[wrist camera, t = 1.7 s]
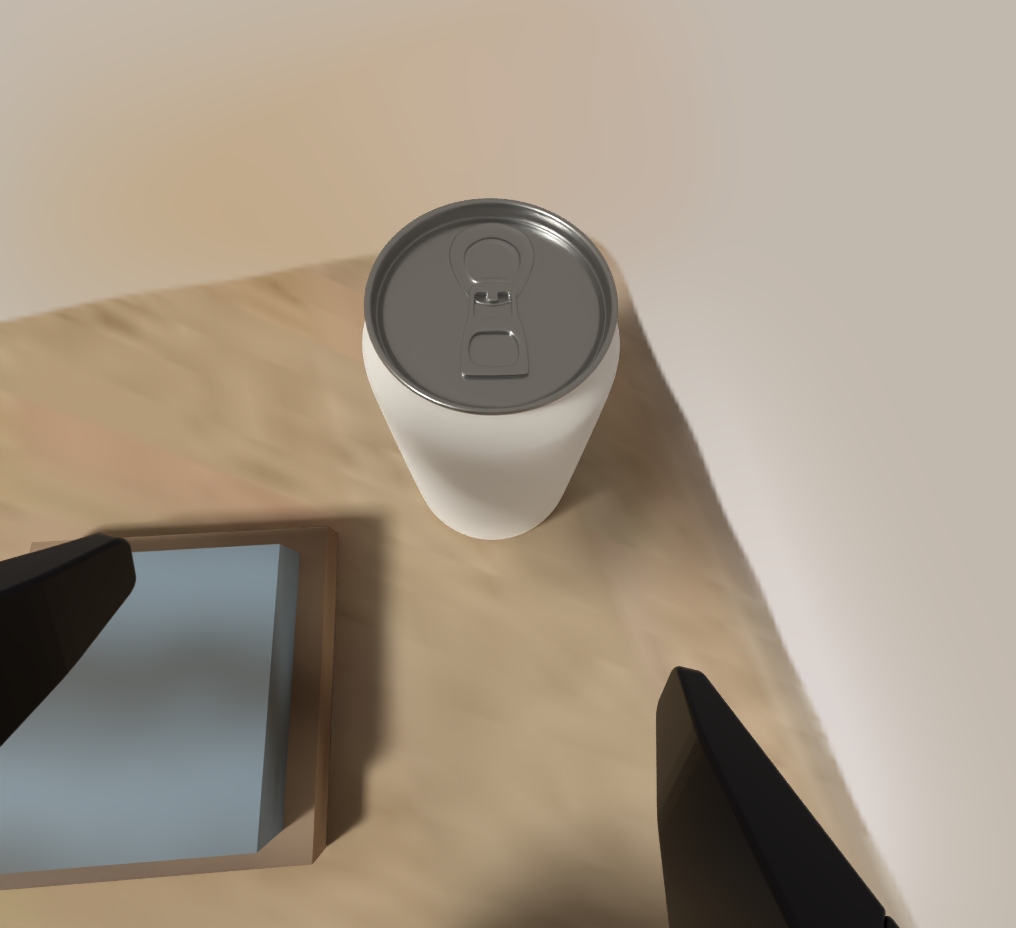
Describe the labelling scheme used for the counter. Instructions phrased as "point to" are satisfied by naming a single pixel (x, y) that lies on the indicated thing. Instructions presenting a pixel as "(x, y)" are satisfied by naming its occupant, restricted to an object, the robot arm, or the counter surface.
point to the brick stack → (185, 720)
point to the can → (491, 358)
